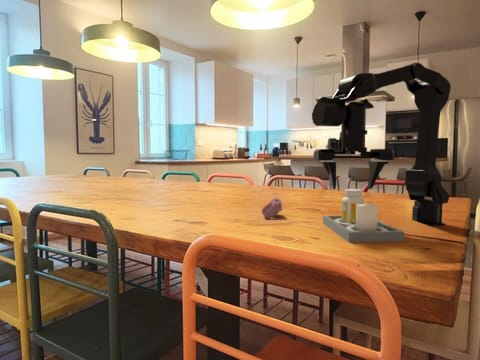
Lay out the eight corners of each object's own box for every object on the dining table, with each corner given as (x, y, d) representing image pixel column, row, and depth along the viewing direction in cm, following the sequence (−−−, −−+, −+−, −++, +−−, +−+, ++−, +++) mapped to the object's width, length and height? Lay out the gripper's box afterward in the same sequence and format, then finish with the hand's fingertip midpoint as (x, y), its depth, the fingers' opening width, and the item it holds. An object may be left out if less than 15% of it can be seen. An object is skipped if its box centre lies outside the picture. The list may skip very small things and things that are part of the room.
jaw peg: (371, 232, 81) (372, 203, 81) (380, 237, 77) (381, 206, 76) (352, 233, 81) (353, 203, 80) (360, 238, 76) (360, 206, 76)
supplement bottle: (338, 227, 88) (338, 189, 87) (346, 224, 92) (347, 188, 91) (359, 230, 84) (359, 191, 83) (366, 226, 88) (367, 189, 87)
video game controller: (276, 224, 105) (286, 203, 104) (262, 217, 105) (272, 197, 104) (272, 218, 115) (282, 199, 114) (260, 212, 114) (269, 193, 114)
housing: (366, 226, 94) (366, 215, 93) (403, 245, 74) (404, 231, 73) (323, 226, 93) (323, 215, 93) (348, 246, 73) (348, 232, 73)
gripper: (376, 129, 94) (375, 185, 95) (308, 129, 94) (308, 186, 95) (396, 125, 83) (394, 190, 84) (319, 126, 82) (318, 190, 84)
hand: (352, 189), depth 87 cm, fingers open, 9 cm apart
